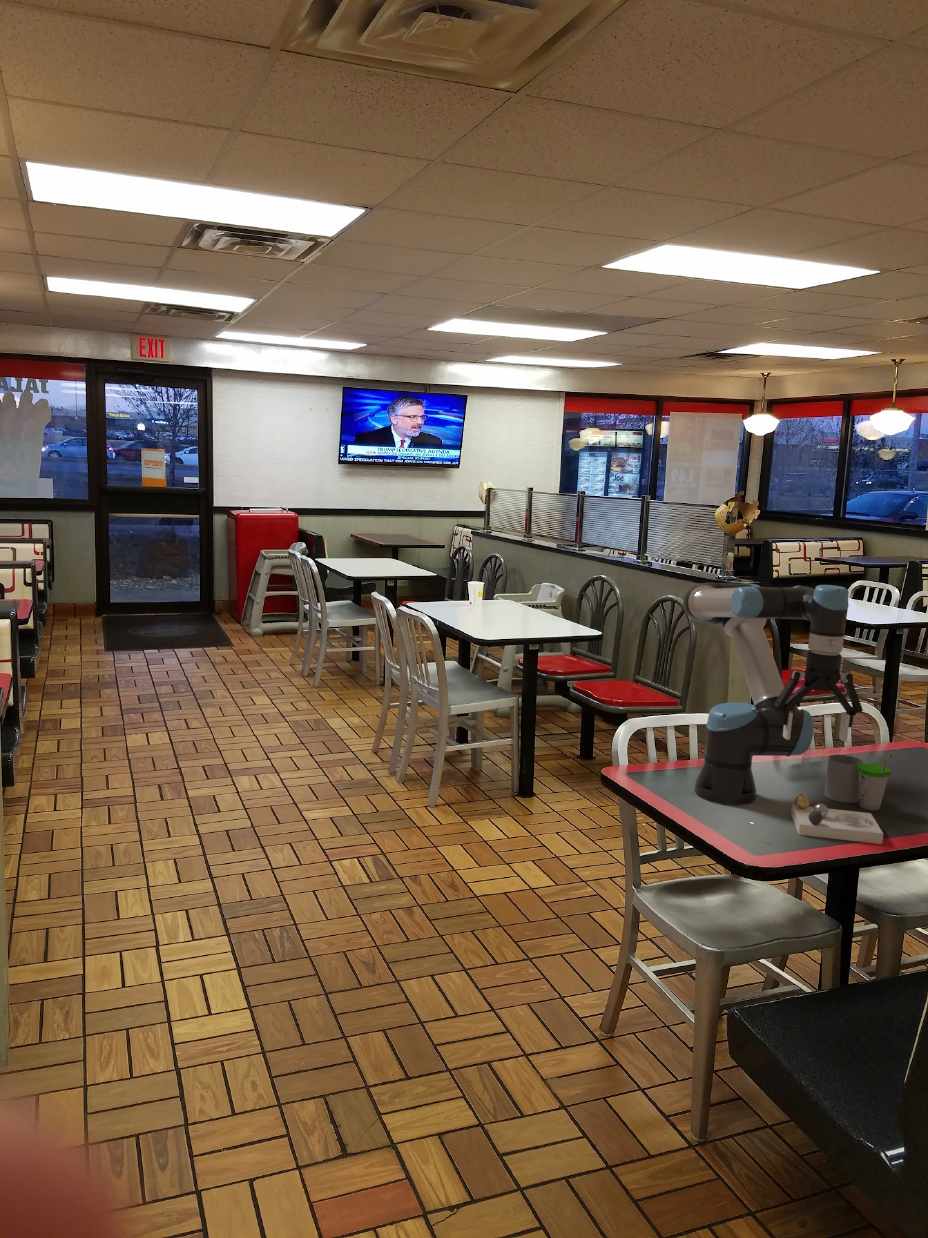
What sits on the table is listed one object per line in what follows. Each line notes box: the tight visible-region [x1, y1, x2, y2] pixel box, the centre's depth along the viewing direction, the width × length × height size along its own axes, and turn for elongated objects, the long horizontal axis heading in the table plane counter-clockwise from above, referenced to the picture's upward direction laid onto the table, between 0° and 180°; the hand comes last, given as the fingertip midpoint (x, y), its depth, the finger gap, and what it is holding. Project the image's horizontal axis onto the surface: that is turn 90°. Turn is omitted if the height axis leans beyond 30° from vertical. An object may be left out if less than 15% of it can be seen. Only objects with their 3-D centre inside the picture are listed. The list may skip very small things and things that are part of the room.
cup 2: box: [857, 754, 893, 812], centre depth 232 cm, size 8×8×15 cm
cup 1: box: [824, 754, 865, 804], centre depth 240 cm, size 8×8×10 cm
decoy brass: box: [794, 793, 811, 809], centre depth 224 cm, size 3×3×3 cm
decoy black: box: [808, 811, 822, 824], centre depth 214 cm, size 3×3×3 cm
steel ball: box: [813, 803, 829, 817], centre depth 218 cm, size 3×3×3 cm
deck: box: [790, 804, 884, 845], centre depth 218 cm, size 18×13×2 cm
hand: (814, 739), depth 221 cm, fingers open, 13 cm apart
